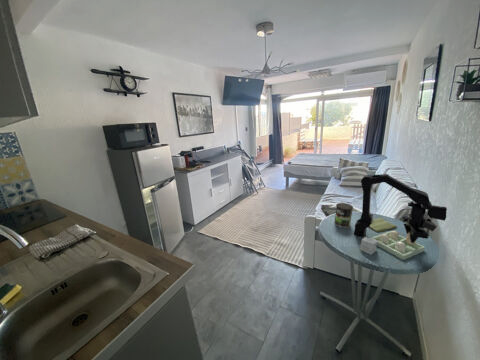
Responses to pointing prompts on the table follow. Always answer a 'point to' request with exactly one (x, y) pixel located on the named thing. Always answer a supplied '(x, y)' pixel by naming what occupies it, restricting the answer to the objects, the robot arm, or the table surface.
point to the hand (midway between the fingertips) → (410, 240)
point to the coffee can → (343, 215)
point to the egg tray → (409, 251)
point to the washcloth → (381, 225)
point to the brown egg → (409, 240)
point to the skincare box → (368, 245)
